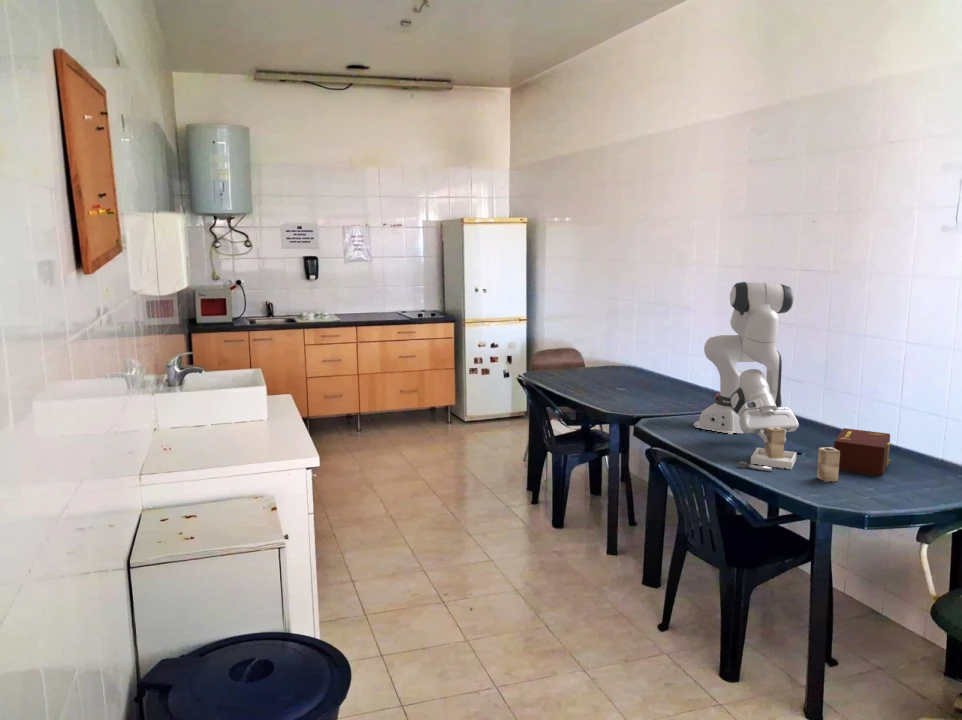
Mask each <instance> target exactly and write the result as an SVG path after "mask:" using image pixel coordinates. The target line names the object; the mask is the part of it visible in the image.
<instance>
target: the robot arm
mask: <svg viewBox="0 0 962 720" xmlns="http://www.w3.org/2000/svg"><path fill="white" fill-rule="evenodd" d="M794 295H795V294H794V291H793V289H792V288H791V287H790V286H789V285H785V284H776V283H772V282H746V281H741V282H736V283H735V284H734V285H733V286H732V288H731V290H730V293H729V301H730V305H731V307H732V308H733V312H732V315H731V317H730V318H731V319H730V321H729V323H730V327H731V329H732V330H733V331H734V332H735V333H736V334H728V335H727V334H725V335H724V334H722V335H721V334H719V335H715V336H710V337H708V339H707V340H706V342H705V343H704V346H703V350H704V355H705V356H706V358H707V360H708V361H710V362H711V363H712V364H713V365H714V367H716V369H717V371H718V374H719V383H720V386H719V387H720V389H719V390H720V391H719V393H717V394H716V393H715V396H714V403H713V404H711V405H710V406H708V407H706V408H704V410H703V411H701V414H700V416H699V420H696V421H695V422H694V423H693V426H695V425H697V426H695V427H697V428H702V429H707V430H712V431H717V432H723V433H728V434H727V435H734V434H733V433H737V434H757V435H758V437H760V438H761V439H762V440H763V443H764V444H765V443H769V442H770V439H769V437H767V436H766V429H767V428H775V427H780V428H782V429H784V430H785V439H784V443H786V442H787V438H786V434H787V433H788V432H789V433H790V432H793V433H794V432H795V431H796V430H797V429H798V428H799V426H800V424H799V421H798V419H797V417H796V416H795V414H794V412H793V409H791V408H789V407H786V406H783V407H782V404H783V403H782V394H781V390H782V388H781V387H782V370H783V369H782V366H783V365H782V363H783V362H782V360H783V359H782V355H781V353H780V351H778V350H777V346H776V344H777V339H778V332H779V314H784V313H785V314H786V313H788V312H789V311H790V310H791V309H792V306H793V304H794V300H795V299H794V297H795V296H794ZM755 362H757V364H758V363H759V364H761V365H763V366H765V368H766V376H765V374H764V373H763V371H761V370H760V369H756V368H755V369H754V368H753V369H747V370H744V371H742V370H740V369H738V367H737V363H755ZM717 432H716V433H717ZM723 433H722V434H723Z"/></svg>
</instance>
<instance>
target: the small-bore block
mask: <svg viewBox="0 0 962 720" xmlns="http://www.w3.org/2000/svg"><path fill="white" fill-rule="evenodd" d="M765 435H766V436H767V437H769V439H770V442H769V443H764V449H765V455H766V456H767V457H769V458H771V459H774V458H783V455H784V451H785V450H784V449H785V442H784V439H785V437H786V435H785V430H784V429H782V428H780V427H775V428H767V429H766V433H765Z"/></svg>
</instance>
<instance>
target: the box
mask: <svg viewBox="0 0 962 720" xmlns="http://www.w3.org/2000/svg"><path fill="white" fill-rule="evenodd" d="M890 441H891V433H887V432H879V431H870V430H862V429H855V428H854V429H853V428H842V429H841V431H840V432H839V434H838V435H837V437H836V438H835V440H834V443H833V448H835V449H837V450H839V451H840V460H839V471H844V470H845V472H851V471H852V472H851V473H858V472H859V473H860V474H864V473H865V474H866V475H873V476H878V475H879V476H878V477H884V474H885V470H886V468H887V467H888V464H891V459H890V458H889V454H890V447H891V446H890V445H891V442H890Z"/></svg>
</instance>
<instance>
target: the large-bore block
mask: <svg viewBox="0 0 962 720" xmlns="http://www.w3.org/2000/svg"><path fill="white" fill-rule="evenodd" d="M839 460H840V451H839V450H837V449H835V448H834V447H833V446H830V447H819V448H818V456H817V469H816V471H817V472H816V478H817V479H819V480H821V481H822V480H823V482H824V483H825V482H830V481H832V482H838V481H839V471H840V470H839Z"/></svg>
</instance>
